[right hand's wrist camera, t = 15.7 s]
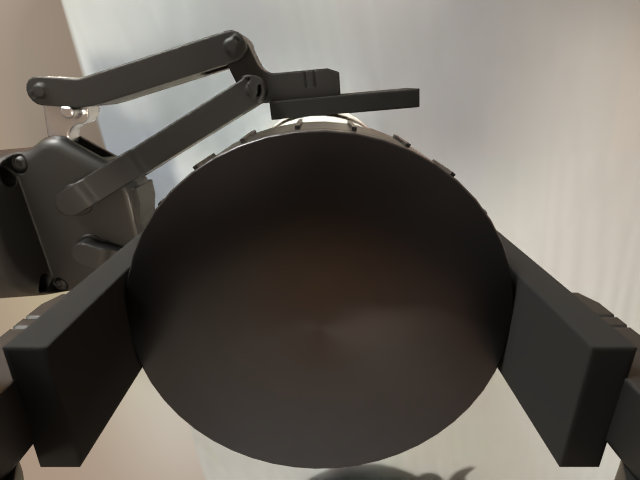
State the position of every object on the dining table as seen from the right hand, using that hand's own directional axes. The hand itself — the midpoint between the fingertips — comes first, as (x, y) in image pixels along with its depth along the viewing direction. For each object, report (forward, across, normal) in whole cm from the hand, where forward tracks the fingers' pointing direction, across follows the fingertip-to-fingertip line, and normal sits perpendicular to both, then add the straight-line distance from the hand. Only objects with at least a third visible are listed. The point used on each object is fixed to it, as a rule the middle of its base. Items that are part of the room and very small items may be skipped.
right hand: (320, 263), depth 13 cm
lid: (-3, 0, 0) cm, 3 cm away
